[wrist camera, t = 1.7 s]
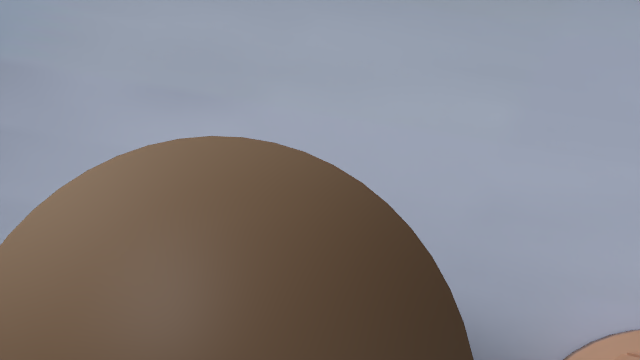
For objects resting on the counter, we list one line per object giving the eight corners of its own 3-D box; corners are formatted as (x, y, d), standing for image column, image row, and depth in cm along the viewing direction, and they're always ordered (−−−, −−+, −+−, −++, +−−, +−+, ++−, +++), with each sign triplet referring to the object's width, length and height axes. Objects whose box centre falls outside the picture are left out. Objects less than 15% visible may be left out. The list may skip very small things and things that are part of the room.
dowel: (395, 339, 16) (597, 515, 4) (282, 409, 16) (61, 885, 3) (328, 227, 17) (300, 51, 4) (220, 292, 17) (-144, 299, 4)
